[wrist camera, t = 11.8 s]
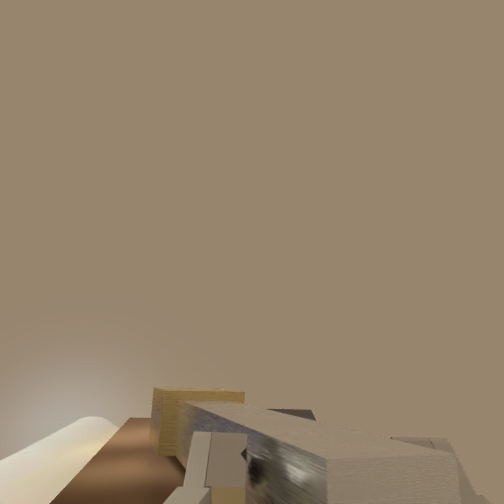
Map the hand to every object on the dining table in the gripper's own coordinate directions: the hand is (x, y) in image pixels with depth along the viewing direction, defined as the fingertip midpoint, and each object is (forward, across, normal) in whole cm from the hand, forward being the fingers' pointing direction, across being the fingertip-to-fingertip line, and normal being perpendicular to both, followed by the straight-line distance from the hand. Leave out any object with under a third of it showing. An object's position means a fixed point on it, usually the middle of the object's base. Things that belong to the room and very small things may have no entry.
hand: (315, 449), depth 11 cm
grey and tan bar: (+4, +3, +7) cm, 9 cm away
